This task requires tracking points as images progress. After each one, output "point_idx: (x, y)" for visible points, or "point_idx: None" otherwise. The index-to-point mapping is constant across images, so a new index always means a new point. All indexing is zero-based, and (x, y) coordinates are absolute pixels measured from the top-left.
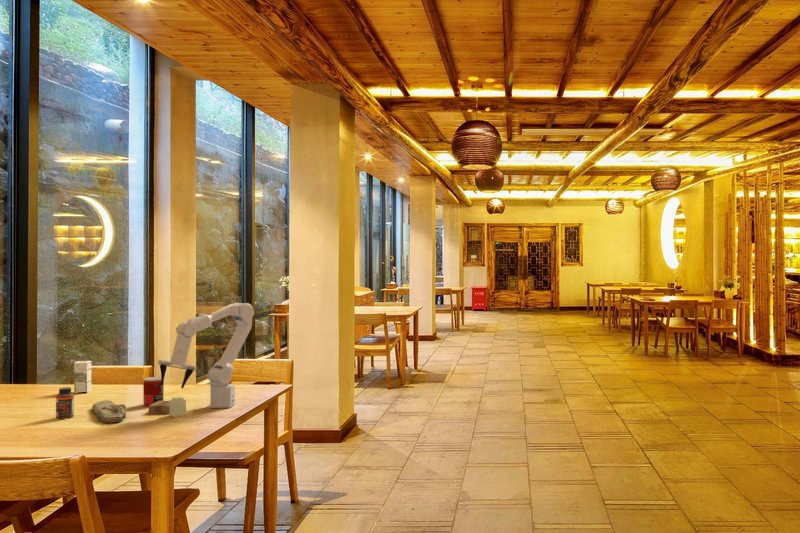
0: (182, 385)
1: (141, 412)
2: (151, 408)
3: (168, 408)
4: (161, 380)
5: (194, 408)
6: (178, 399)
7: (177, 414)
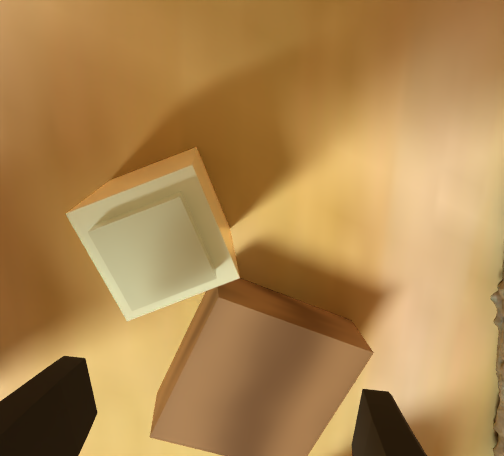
0: (52, 384)
1: (384, 365)
2: (348, 334)
3: (237, 294)
4: (424, 453)
5: None
6: (145, 208)
7: (171, 158)
